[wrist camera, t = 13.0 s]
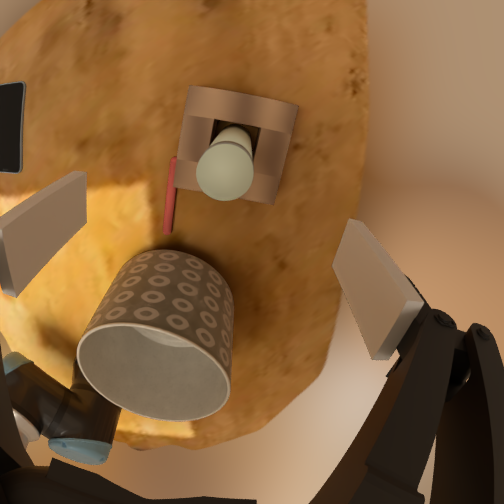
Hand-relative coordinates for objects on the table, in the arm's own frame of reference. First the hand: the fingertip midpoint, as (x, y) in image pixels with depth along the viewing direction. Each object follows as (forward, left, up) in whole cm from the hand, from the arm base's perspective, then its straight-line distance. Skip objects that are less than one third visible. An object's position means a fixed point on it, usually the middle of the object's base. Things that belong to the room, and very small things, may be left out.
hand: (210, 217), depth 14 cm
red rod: (-7, -9, -26) cm, 28 cm away
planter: (-5, -25, -26) cm, 36 cm away
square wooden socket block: (0, 0, -26) cm, 26 cm away
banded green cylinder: (0, 0, -26) cm, 26 cm away
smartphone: (-37, -1, -26) cm, 45 cm away
